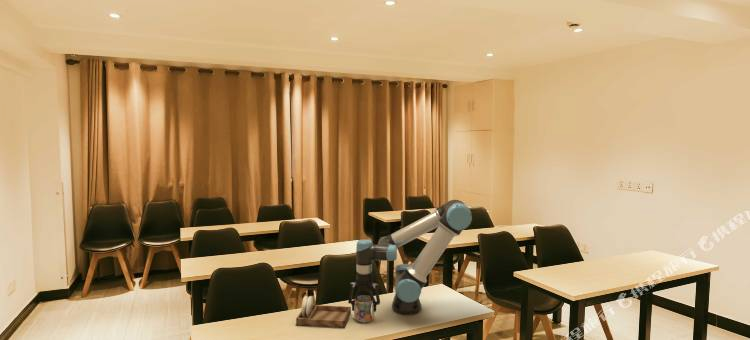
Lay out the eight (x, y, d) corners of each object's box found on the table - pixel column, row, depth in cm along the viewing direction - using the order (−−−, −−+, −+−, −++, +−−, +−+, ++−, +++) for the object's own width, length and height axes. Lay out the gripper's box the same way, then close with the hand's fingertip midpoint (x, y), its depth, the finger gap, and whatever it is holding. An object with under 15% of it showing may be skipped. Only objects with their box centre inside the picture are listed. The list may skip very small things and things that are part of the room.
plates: (313, 312, 220) (312, 293, 220) (307, 321, 211) (307, 300, 210) (307, 312, 221) (307, 292, 220) (301, 320, 211) (301, 300, 210)
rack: (350, 313, 222) (350, 306, 222) (344, 328, 205) (344, 321, 205) (306, 311, 225) (306, 304, 224) (296, 325, 208) (296, 318, 207)
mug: (374, 323, 210) (374, 302, 209) (355, 324, 209) (355, 303, 208) (371, 313, 222) (371, 292, 221) (352, 314, 221) (352, 293, 220)
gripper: (386, 270, 216) (386, 315, 218) (344, 268, 218) (344, 313, 220) (384, 275, 209) (384, 322, 211) (341, 273, 211) (341, 319, 213)
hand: (364, 317), depth 216 cm, fingers closed on mug, 8 cm apart
